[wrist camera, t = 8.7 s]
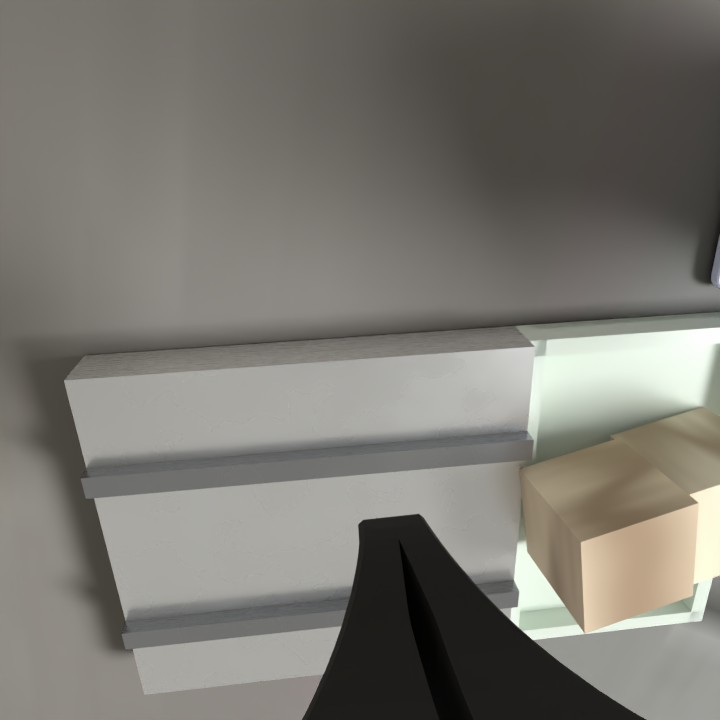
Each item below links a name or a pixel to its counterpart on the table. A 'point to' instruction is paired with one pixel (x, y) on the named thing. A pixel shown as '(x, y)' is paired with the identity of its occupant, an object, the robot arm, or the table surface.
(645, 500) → the tan cube
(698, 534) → the wooden cube
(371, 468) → the slotted bed
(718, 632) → the table surface
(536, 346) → the tray
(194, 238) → the table surface
